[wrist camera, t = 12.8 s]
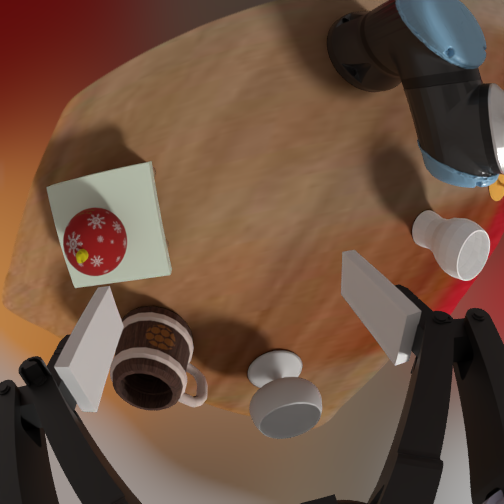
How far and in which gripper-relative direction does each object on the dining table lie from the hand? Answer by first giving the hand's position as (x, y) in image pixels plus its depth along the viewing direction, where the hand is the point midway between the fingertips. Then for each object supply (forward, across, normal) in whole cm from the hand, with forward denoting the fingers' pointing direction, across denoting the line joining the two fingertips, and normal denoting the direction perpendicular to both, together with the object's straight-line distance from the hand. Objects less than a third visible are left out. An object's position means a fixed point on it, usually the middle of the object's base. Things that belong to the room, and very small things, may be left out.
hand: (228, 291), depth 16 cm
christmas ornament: (+25, -16, -2) cm, 30 cm away
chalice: (+33, +7, -40) cm, 52 cm away
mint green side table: (+33, -16, -2) cm, 36 cm away
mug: (+33, -14, -28) cm, 45 cm away
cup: (+33, +41, -12) cm, 54 cm away
